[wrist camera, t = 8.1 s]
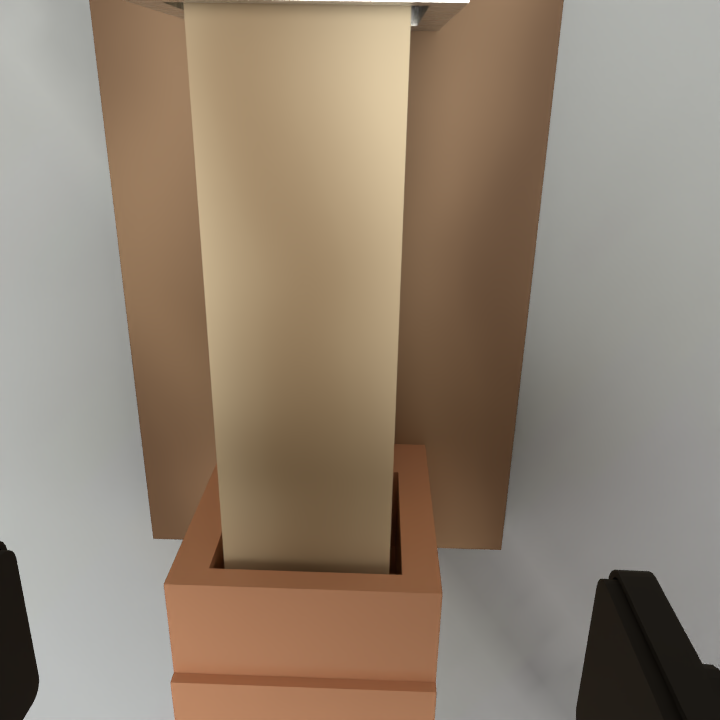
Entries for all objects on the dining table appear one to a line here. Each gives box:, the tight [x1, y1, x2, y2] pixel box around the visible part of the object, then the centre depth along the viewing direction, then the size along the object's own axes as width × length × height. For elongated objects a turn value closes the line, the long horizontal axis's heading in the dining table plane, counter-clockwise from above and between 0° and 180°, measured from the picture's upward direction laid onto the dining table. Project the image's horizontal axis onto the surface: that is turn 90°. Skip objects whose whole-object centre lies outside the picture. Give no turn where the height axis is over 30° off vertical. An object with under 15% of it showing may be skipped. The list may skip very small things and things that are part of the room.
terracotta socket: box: [164, 444, 442, 720], centre depth 19 cm, size 6×4×7 cm, turn 89°
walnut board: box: [89, 0, 564, 550], centre depth 19 cm, size 12×26×2 cm, turn 179°
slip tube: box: [183, 2, 411, 574], centre depth 16 cm, size 4×18×4 cm, turn 179°
